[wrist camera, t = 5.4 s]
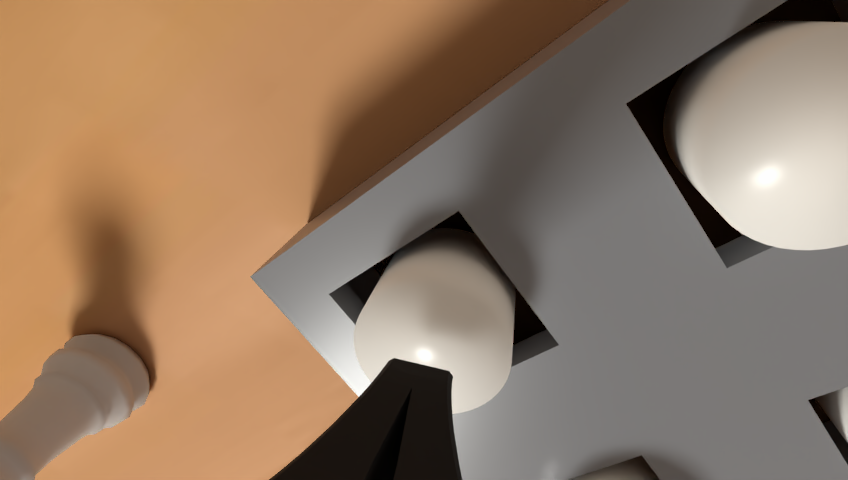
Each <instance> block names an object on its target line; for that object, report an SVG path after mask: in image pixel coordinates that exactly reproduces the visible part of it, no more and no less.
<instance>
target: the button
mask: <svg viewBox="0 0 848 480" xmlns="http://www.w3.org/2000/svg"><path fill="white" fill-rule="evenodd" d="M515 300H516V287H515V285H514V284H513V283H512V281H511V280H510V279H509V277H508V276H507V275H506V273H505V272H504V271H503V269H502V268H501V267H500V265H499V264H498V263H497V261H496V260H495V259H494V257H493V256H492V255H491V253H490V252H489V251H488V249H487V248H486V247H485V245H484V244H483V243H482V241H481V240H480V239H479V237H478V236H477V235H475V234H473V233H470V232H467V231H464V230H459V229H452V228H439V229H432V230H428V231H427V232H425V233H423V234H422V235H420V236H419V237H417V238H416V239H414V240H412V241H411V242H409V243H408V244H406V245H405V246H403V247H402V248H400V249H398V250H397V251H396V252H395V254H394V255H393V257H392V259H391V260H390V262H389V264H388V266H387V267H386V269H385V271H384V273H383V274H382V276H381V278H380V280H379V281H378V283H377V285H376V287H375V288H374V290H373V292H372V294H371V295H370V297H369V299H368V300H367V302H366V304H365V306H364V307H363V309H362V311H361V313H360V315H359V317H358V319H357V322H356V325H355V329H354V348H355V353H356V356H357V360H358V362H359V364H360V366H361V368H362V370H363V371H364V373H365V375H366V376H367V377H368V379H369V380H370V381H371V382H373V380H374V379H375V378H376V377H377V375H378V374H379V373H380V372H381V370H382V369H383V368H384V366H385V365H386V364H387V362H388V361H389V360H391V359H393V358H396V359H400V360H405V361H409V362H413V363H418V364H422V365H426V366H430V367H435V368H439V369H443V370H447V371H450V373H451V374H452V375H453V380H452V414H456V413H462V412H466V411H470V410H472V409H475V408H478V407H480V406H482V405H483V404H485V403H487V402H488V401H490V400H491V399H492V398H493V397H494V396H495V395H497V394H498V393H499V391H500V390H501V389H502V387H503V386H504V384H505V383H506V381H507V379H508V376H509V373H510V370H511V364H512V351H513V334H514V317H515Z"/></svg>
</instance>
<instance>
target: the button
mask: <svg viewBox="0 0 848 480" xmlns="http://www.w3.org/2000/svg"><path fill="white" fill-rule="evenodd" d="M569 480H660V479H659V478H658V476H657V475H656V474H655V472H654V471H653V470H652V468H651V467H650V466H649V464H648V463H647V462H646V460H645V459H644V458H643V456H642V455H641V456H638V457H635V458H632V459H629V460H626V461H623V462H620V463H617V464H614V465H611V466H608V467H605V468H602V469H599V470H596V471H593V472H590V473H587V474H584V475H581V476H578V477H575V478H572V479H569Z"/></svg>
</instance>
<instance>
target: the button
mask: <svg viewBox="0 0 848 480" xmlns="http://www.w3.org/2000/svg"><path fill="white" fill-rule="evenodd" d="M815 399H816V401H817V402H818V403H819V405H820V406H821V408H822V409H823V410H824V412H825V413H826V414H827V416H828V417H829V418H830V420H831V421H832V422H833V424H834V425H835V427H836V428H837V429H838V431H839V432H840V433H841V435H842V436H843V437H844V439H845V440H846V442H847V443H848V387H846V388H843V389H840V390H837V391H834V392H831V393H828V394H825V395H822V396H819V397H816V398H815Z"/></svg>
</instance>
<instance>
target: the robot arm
mask: <svg viewBox="0 0 848 480" xmlns="http://www.w3.org/2000/svg"><path fill="white" fill-rule="evenodd" d="M452 380H453V375H452V374H451V373H450V371H447V370H443V369H439V368H435V367H430V366H426V365H422V364H418V363H413V362H409V361H405V360H400V359H396V358H393V359H391V360H389V361H388V362H387V364H386V365H385V366H384V368H383V369H382V370H381V372H380V373H379V374H378V375H377V377H376V378H375V379H374V380H373V382H372V383H371V384H370V385H369V386H368V387H367V389H366V390H365V391H364V392H363V393H362V394H361V395H360V396H359V398H358V399H357V400H356V401H355V402H354V403H353V404H352V405H351V406H350V407H349V408H348V409H347V410H346V411H345V412H344V413H343V414H342V415H341V416H340V417H339V418H338V419H337V420H336V421H335V422H334V423H333V424H332V425H331V426H330V427H329V428H328V429H327V430H326V431H325V432H324V433H323V434H322V435H321V436H320V437H318V438H317V439H316V440H315V441H314V442H313V443H312V444H311V445H310V446H309V447H308V448H307V449H305V450H304V451H303V452H302V453H301V454H300V455H299V456H298V457H296V458H295V459H294V460H293V461H292V462H290V463H289V464H288V465H287V466H286V467H284V468H283V469H282V470H281V471H280V472H278V473H277V474H276V475H275V476H273V477H272V478H271V479H269V480H462V476H461V470H460V465H459V460H458V453H457V447H456V441H455V434H454V426H453V415H452Z"/></svg>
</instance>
